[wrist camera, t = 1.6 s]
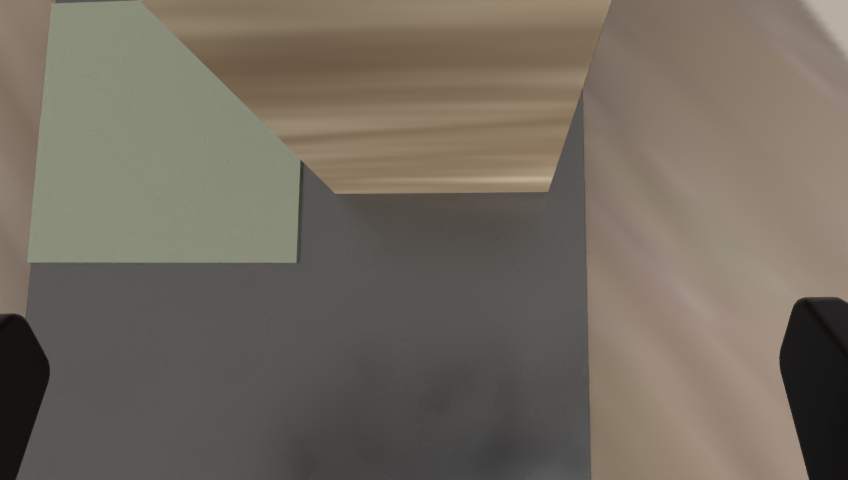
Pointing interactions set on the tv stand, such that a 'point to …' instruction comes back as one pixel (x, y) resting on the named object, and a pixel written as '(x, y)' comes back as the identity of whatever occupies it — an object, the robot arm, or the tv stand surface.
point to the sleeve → (403, 84)
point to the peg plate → (282, 293)
